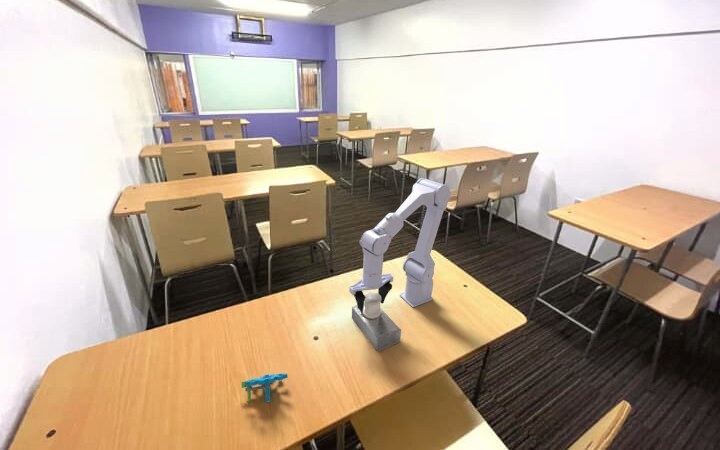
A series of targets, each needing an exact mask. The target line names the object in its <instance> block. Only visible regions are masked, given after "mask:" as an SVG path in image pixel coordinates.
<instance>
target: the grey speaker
mask: <svg viewBox="0 0 720 450" xmlns="http://www.w3.org/2000/svg"><path fill="white" fill-rule="evenodd" d="M363 308H364V307H363ZM380 310H381V313H380V316H379V317H378V318H376V319H369V318H366V317H365V316H364V315H363V311H360V310H359V309H358V306H357V304H356V305H354V306H351V319H352V320H353V321H354V323H355V324H356V325H357V326H358V328H359V329H360V330H361V331H362V332H363V334H364V335H365V337H366V338H367V339H368V341H369V343H371V345H372V347H374V348H375V350H376V351H377V352H380V351H382V350H384V349H387V348H389V347H391V346H393V345H395V344H399V343H401V335H402V329H401V328H400V327H399V326H398V325H397V324H396V323H395V321H393V320H392V318H391V317H389V316H388V314H387V313H386V312H385V310H383V309H382V308H381V307H380Z"/></svg>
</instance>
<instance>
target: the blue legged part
mask: <svg viewBox="0 0 720 450" xmlns="http://www.w3.org/2000/svg"><path fill="white" fill-rule="evenodd" d="M288 376H289V375H288V373H287V372H285V373H282V372H280V373H277V374H264V376H259V378H257V377H255V378H251V379H249V380H244V381H243V380H242V381H241V382H240V383H241V385H240V386H241V389H245V392H246V393H247V402H248V403H249V402H251V401H252V399H251V397H252V394H251V393H252V391H257V390H262V389H265V390H264V391H265V392H264V393H265V403H269V402H271V391H270V390H271V389H270V388H271V387H272V384H271V383H275V381H278V382H279V381H282V380H284V379H285V380H286V379H288V378H289V377H288ZM256 385H258V386H256Z"/></svg>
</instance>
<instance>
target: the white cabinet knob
mask: <svg viewBox="0 0 720 450" xmlns="http://www.w3.org/2000/svg"><path fill="white" fill-rule="evenodd" d="M364 295H365V296H366V298H365V300H364V308H363V315H364V316H365V317H366V318H369V319H376V318H378V317H379V316H380V313H381V310H380V308H381V296H380V295H379V294H378V292H376V291H375V292H373V291H370V292H367V293H365V294H364Z"/></svg>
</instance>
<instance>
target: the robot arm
mask: <svg viewBox="0 0 720 450" xmlns="http://www.w3.org/2000/svg"><path fill="white" fill-rule="evenodd" d="M411 189H412V190H411V193H410V194H409V195H408V196H407V198H406V199H404V201H403V202H402V204H400V206H399V207H398V208H397V210H396V211H395V212H389V213H387V214H386V215H385V216H384V218H382V220H380V221H379V223H377V224H376V225H375V226H374V228H372V229H370V230H366V231H365V232H364V233H363V234H362V235H361V237H360V240H359V245H360V246H361V247H362V253H363V263H362V266H363V267H362V278H361V279H360V280H359V281H357V282H356V283H354V284H352V285H349V287H348V288H349V290H348V291H349V293H350V294H351V295H352V296H353V297H354V299H355V302H356V305H357V306H358V309H359V310H360V311H363V307H364V300H365V298H366V296H365V294H364V292H363V291H371V290H378V291H377V293H378V294H379V295H380V296H381V302H380V304H384V303H385V300H386V299H387V296H388V294H389V293H390V291H391V290H392V289H393V284H392V283H393V282H394V275H392V274H391V273H385V274H383V265H384V254H385V253H386V252H387V250H388V249H389V246H390V244H391V242H392V239H393V238H394V236H395V235H397V234H398V233H399V232H400V231H401V229H402V228H403V227H404V221H405V220H406V219H408V217H409V216H411V215H412V214H413V213H414V212H415V211H417V210H418V208H420V207H421V206H425V207H426V211H425V215H424V218H423V222H422V226H421V228H420V232H419V235H418V238H417V241H416V245H415V249H414V251H410V252H409V253H408V254H407V256H406V257H405V260H404V261H403V264H402V270H403V272H404V273H405V274H404V275H405V276H406V281H405V289H404V292H401V293H399V296H400V297H401V298H402V299H403V300H404V301H405V302H406V303H408V305H409V306H411V307H412V308H417V307H418V306H420V305H422V304H425V303H429V302H430V301H432V300H433V299H434V298H433V297H432V296H433V288H434V279H433V277H434V274H435V267H436V262H435V260H434V259H433V257H432V256H431V254H432V253H431V252H432V251H433V250H432V249H433V246H434V243H435V239H436V236H437V233H438V230H439V227H440V225H441V224H440V223H441V220H442V217H443V214H444V211H445V210H447V208H448V207H447V206H448V203H449V200H450V197H451V194H452V192H451V189H450V187H449V186H448V184H445V183H440V182H437V181H434V180H432V179H431V180H430V179H427V178H425V177H420V178H419V179H417V181H416V182H415V183H413V186H412V188H411Z"/></svg>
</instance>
